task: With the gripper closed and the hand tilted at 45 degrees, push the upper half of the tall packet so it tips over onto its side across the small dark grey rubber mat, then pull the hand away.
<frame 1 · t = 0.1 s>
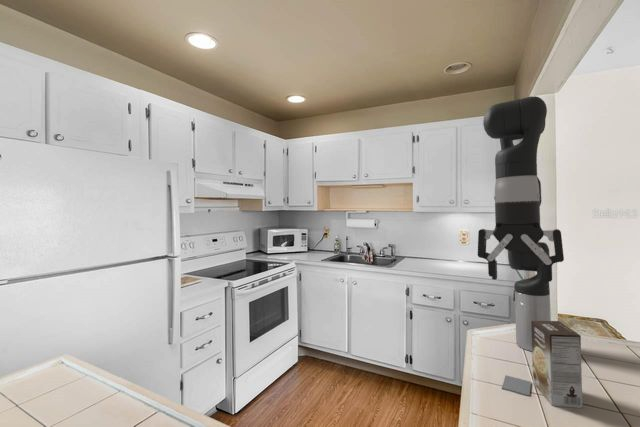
hand: (518, 281, 61), 29 cm above the counter, tool pointing down, fingers open, 8 cm apart
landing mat: (516, 385, 75), on the counter
coffee box: (556, 396, 71), on the counter
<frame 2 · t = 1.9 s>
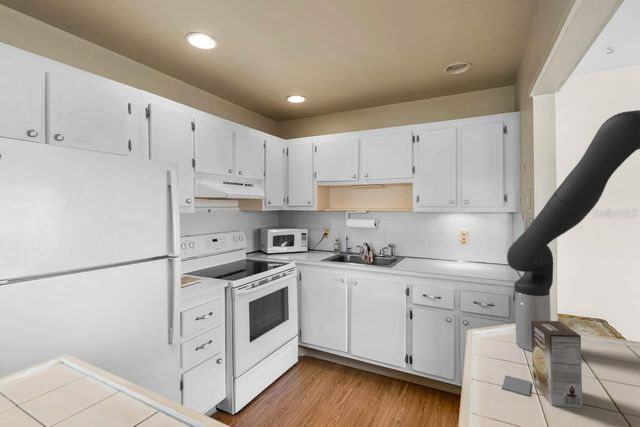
nothing on the counter moved.
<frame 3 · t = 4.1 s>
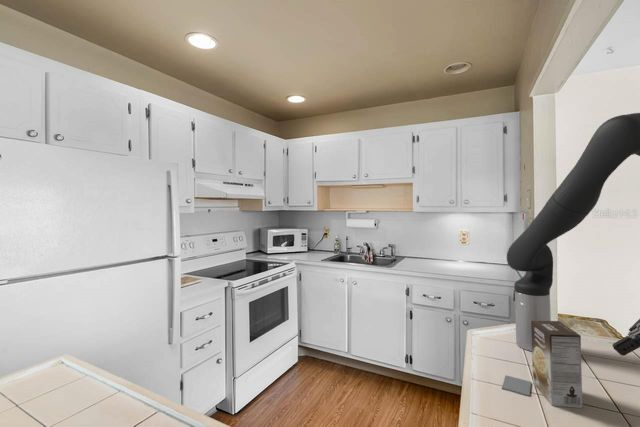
hand: (616, 350, 65), 13 cm above the counter, tool tilted 45°, fingers closed
nothing on the counter moved.
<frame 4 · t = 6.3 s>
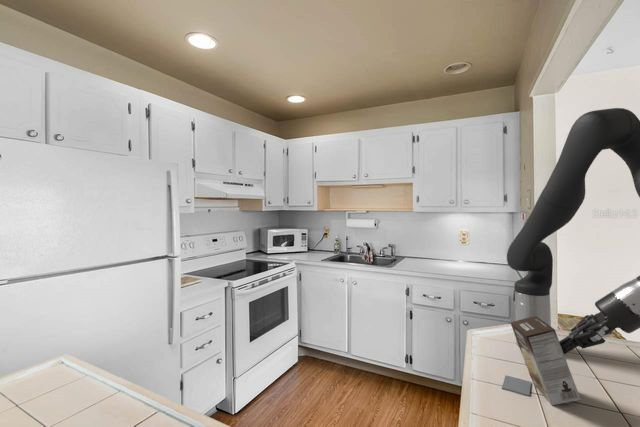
hand: (558, 349, 71), 11 cm above the counter, tool tilted 45°, fingers closed
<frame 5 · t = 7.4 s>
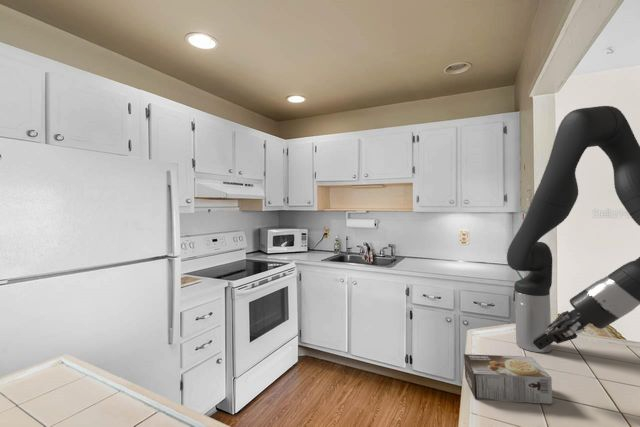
hand: (536, 345, 73), 11 cm above the counter, tool tilted 45°, fingers closed
coffee box: (543, 379, 71), point 4 cm above the counter, touching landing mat
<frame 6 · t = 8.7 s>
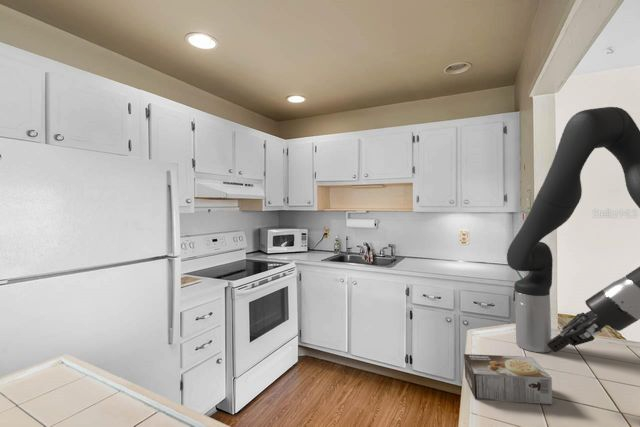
hand: (550, 347, 71), 11 cm above the counter, tool tilted 45°, fingers closed
nothing on the counter moved.
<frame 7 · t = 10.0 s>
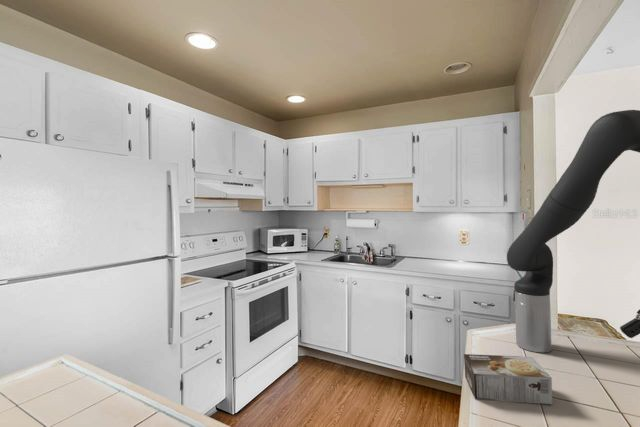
hand: (624, 333, 64), 17 cm above the counter, tool tilted 45°, fingers closed
nothing on the counter moved.
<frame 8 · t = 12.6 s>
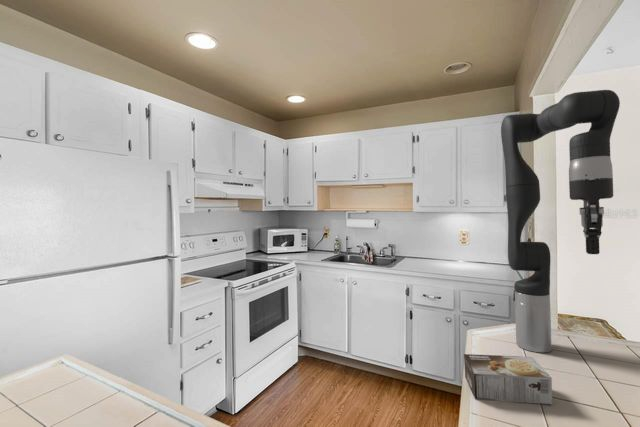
hand: (592, 253, 70), 33 cm above the counter, tool pointing down, fingers closed
nothing on the counter moved.
at the end: coffee box tilted 91°; coffee box inside the target area (2.6 cm from its centre), point 3.6 cm above the counter; coffee box touching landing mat, counter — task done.
